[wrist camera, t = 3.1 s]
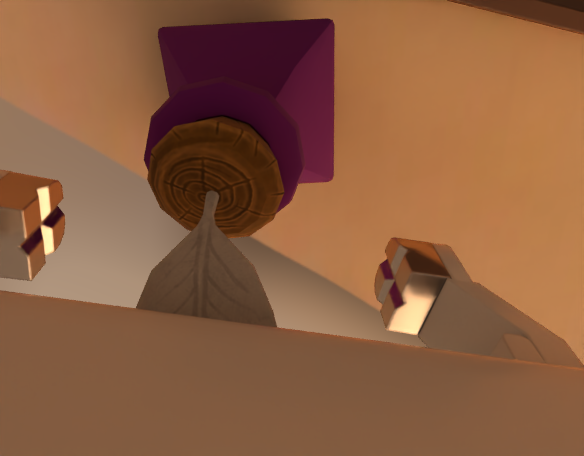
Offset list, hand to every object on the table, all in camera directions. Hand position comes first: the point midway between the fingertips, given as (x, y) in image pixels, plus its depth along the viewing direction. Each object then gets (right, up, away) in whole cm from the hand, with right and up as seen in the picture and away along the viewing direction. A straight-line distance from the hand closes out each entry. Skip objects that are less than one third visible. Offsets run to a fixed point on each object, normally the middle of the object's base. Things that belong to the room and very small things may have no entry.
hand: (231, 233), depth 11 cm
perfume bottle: (0, +7, +12) cm, 14 cm away
